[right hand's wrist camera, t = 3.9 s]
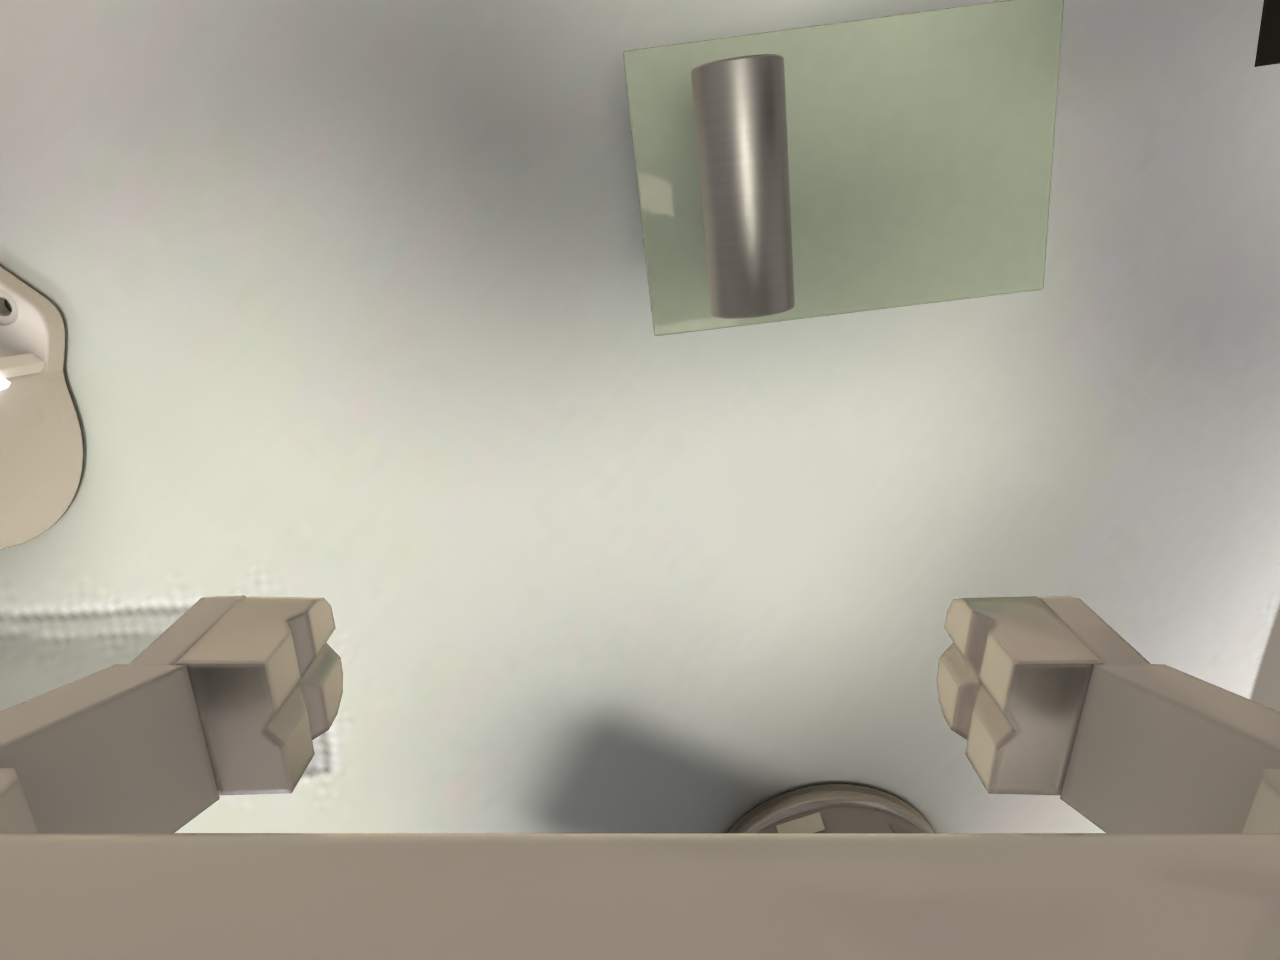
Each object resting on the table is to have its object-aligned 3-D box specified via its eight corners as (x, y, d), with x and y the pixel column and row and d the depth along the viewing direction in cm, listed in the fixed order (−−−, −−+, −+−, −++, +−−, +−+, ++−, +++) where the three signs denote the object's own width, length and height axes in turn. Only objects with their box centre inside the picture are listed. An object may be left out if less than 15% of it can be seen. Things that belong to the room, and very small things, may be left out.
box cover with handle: (653, 331, 28) (664, 394, 19) (623, 57, 25) (619, -17, 16) (1028, 286, 27) (1212, 329, 19) (1046, 1, 24) (1277, -105, 16)
